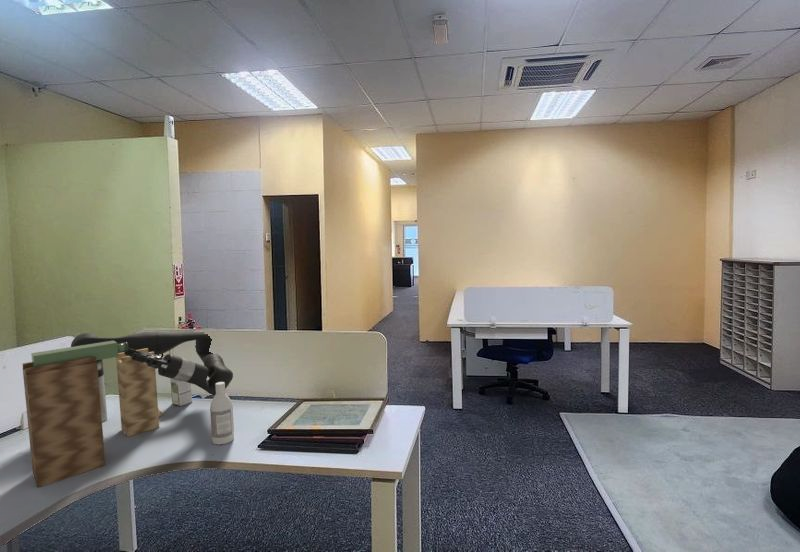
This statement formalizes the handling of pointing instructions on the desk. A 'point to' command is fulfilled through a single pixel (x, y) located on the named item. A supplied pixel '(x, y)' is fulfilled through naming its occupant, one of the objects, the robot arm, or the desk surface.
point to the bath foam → (221, 416)
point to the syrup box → (181, 392)
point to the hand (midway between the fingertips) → (128, 353)
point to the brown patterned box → (64, 419)
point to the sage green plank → (79, 353)
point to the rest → (137, 395)
